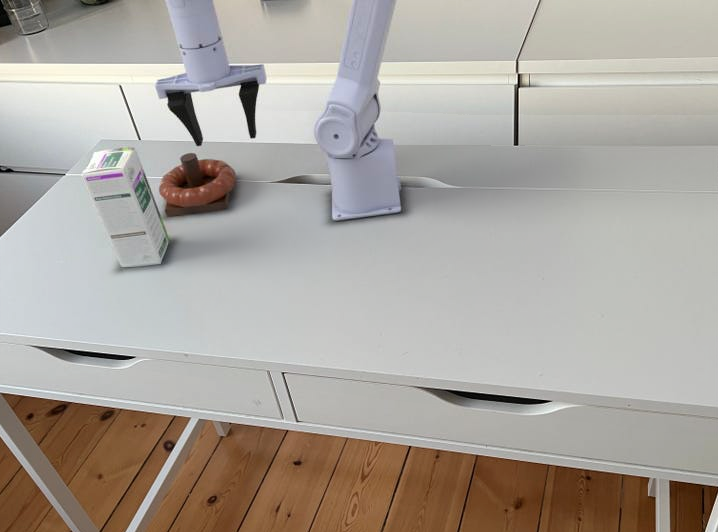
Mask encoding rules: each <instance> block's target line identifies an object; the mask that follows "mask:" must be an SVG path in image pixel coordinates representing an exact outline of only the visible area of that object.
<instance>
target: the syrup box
mask: <svg viewBox="0 0 718 532" xmlns="http://www.w3.org/2000/svg"><path fill="white" fill-rule="evenodd" d="M140 159H141V158H140V156H139V154H138V151H137V149H136V147H116V148H110V149H104V150H99V151H94V152H93V155H92V156H91V158H90V160H89V161H88V163H87V164H86V166H85V168H84V169H83V171H82V173H81V175H80V176H81V177H82V180H83V182H84V184H85V187H86V189H87V191H88V194H89V196H90V198H91V201H92V204H93V205H94V208H95V210H96V212H97V215H98V217H99V219H100V221H101V224H102V226H103V229H104V231H105V233H106V236H107V238H108V240H109V242H110V244H111V247H112V249H113V251H114V253H115V256H116V258H117V260H118V263H119V265H120V267H121V268H136V267H146V266H154V265H161V264H162V262H163V259H164V256H165V254H166V251H167V249H168V246H169V243H170V237H169V234H168V232H167V229H166V226H165V223H164V221H163V219H162V215H161V212H160V210H159V208H158V205H157V202H156V200H155V196H154V194H153V191H152V188H151V186H150V183H149V180H148V178H147V176H146V171H145V170H144V167H143V165H142V161H141V160H140Z"/></svg>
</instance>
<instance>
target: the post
mask: <svg viewBox="0 0 718 532" xmlns="http://www.w3.org/2000/svg"><path fill="white" fill-rule="evenodd" d="M179 160H180V163H181V165H182V166H183V170H184V173H185V176H186V179H187V182H185V183H184V184H183V185H181V186H180V187H179V188H184V189H188V188H196V187H200V186H203V185H206V184H208V183H211V182H212V181H213V180H214V179H216V178H215V177H203V175H202V172H201V169H200V165H199V162H198V160H199V159H198V155H197V154H196V153H194V152H188V153H185V154H183V155H181V156H180V158H179ZM231 191H232V189H231V190H230V191H229V192H228V193H227V194H226V195H224V196H223V197H222V198H221V199H218V200H216V201H213V202H211V203H208V204H206V205H201V206H194V207H181V206H176V205H171V204H169V203H168V202H167V201H166V204H165V207H164V212H165V213H164V214H165V216H166V217H167V218H169V217H170V218H171V217H177V216H184V215H185V216H186V215H191V214H192V215H193V214H199V213H207V212H208V213H209V212H214V211H222V210H228V206H229V201H230V196H231Z"/></svg>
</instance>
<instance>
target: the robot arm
mask: <svg viewBox="0 0 718 532" xmlns="http://www.w3.org/2000/svg"><path fill="white" fill-rule="evenodd" d="M164 1H165V4H166V8H167V11H168V15H169V18H170V22H171V24H172V28H173V33H174V37H175V39H176V43H177V47H178V49H179V52H180V56H181V60H182V63H183V67H184V70H185V72H184V73H180V74H176V75H172V76H169V77H164V78H159V79H157V80H156V81H155V84H154V87H155V90H156V93H157V97H158V99H159V100H163V99H167V104H166V106H167V107H168V109H169V111H170V112H171V113H172V114H173V115H174V116H175V117H176V118H177V119H178V120H179V122H180V123H182V125H183V126H184V127H185V129H186V130H187V131H188V133H189V135H190V136H191V138H192V140H193V141H194V144H195V146H196V147H202V145H203V141H204V137H203V133H202V130H201V129H202V128H201V126H200V124H199V120H198V118H197V114H196V110H195V106H194V101H193V97H192V93H197V92H198V93H199V92H201V93H205V92H212V91H215V90H219V89H225V88H232V87H239V86H240V87H239V91H238V98H239V100H240V103H241V106H242V109H243V113H244V115H245V119H246V125H247V132H248V135H249V138H250V139H256V137H257V127H256V126H257V125H256V110H257V101H258V100H257V99H258V94H259V89H260V85H265V84H267V74H266V68H265V65H264V64H263V63H261V64H249V65H248V64H244V65H243V64H239V65H238V64H237V65H236V64H232V65H230V63H229V59H228V56H227V55H228V54H227V51H226V47H225V44H224V43H225V42H224V39H223V36H222V35H223V34H222V31H221V27H220V24H219V23H220V22H219V20H218V15H217V12H216V11H217V10H216V8H215V4H214V0H164ZM396 4H397V0H352V1H351V4H350V5H351V6H350V9H349V10H350V11H349V16H348V19H347V25H346V30H345V34H344V39H343V44H342V49H341V54H340V59H339V64H338V69H337V73H336V78H335V80H334V82H333V85H332V87H331V90H330V92H329V95H328V97H327V100H326V105H325V108H324V110H323V112H322V113H321V115H320V116H318V118H317V119H316V121H315V123H314V127H313V134H314V138H315V141H316V143H317V145H318V147H319V148H320V149H321V150H322V151H323V152H325V156H326V162H327V167H328V174H329V178H330V185H331V189H332V191H331V218H332V220H333V221H334V222H335V221H336V222H337V221H343V220H351V219H360V218H365V217H366V218H367V217H373V216H374V217H375V216H382V215H389V214H397V213H401V211H402V206H401V205H402V204H401V197H400V191H402V186H401V185H402V184H401V178H400V176H398V169H397V161H396V153H395V145H394V139H393V138H382V137H379V135H378V132H377V130H376V125H375V124H376V122H377V121H378V120H379V118H380V115H381V110H382V108H381V102H380V98H379V90H380V86H381V81H380V80H379V79H378V78H379V73H380V70H381V65H382V61H383V57H384V53H385V49H386V46H387V45H386V44H387V41H388V38H389V32H390V28H391V25H392V20H393V16H394V12H395V9H396Z"/></svg>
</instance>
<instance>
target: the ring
mask: <svg viewBox="0 0 718 532" xmlns="http://www.w3.org/2000/svg"><path fill="white" fill-rule="evenodd" d="M198 162H199V165H200V169H201V172H202V175H203V177H215V178H216V179H214V180H213V181H212V182H211V183H208V184H206V185H203V186H200V187H196V188H188V189H184V188H179V187H180V186H181V185H183V184H184V183H185V182H187V179H186V176H185V173H184V170H183V166H182V164H180V165H177V166H175V167H173V168H172V169H170V170H169V171H168V172H167V173H166V174H164V175H163V176H162V178H161V180H160V184H159V187H158V193H159V195H160V196H161V197H162V198H163V200H164V201H166V203H167V202H168V203H169V204H171V205H176V206H181V207H194V206H201V205H206V204H208V203H211V202H213V201H216V200H218V199H221V198H222V197H223V196H224V195H226V194H227V193H228V192H229V191H230V190H231V191H232V190H233V188H234V187H235V184H236V183H235V182H236V177H237V174H236V171H235V169H234V168H233V167H232V166H230V164H228V163H227V162H226V161H224V160H219V159H214V158H204V159H198ZM231 191H230V192H231Z"/></svg>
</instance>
